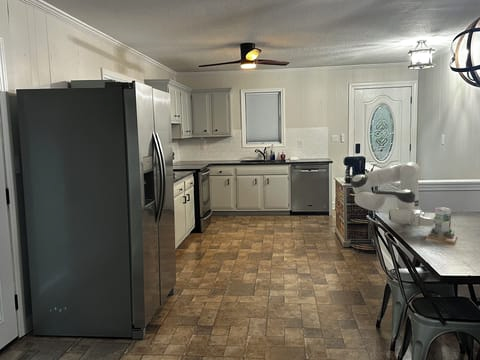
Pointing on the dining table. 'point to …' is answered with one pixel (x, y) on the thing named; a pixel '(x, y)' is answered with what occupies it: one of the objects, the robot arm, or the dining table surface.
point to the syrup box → (443, 215)
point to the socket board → (432, 239)
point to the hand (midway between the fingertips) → (444, 220)
